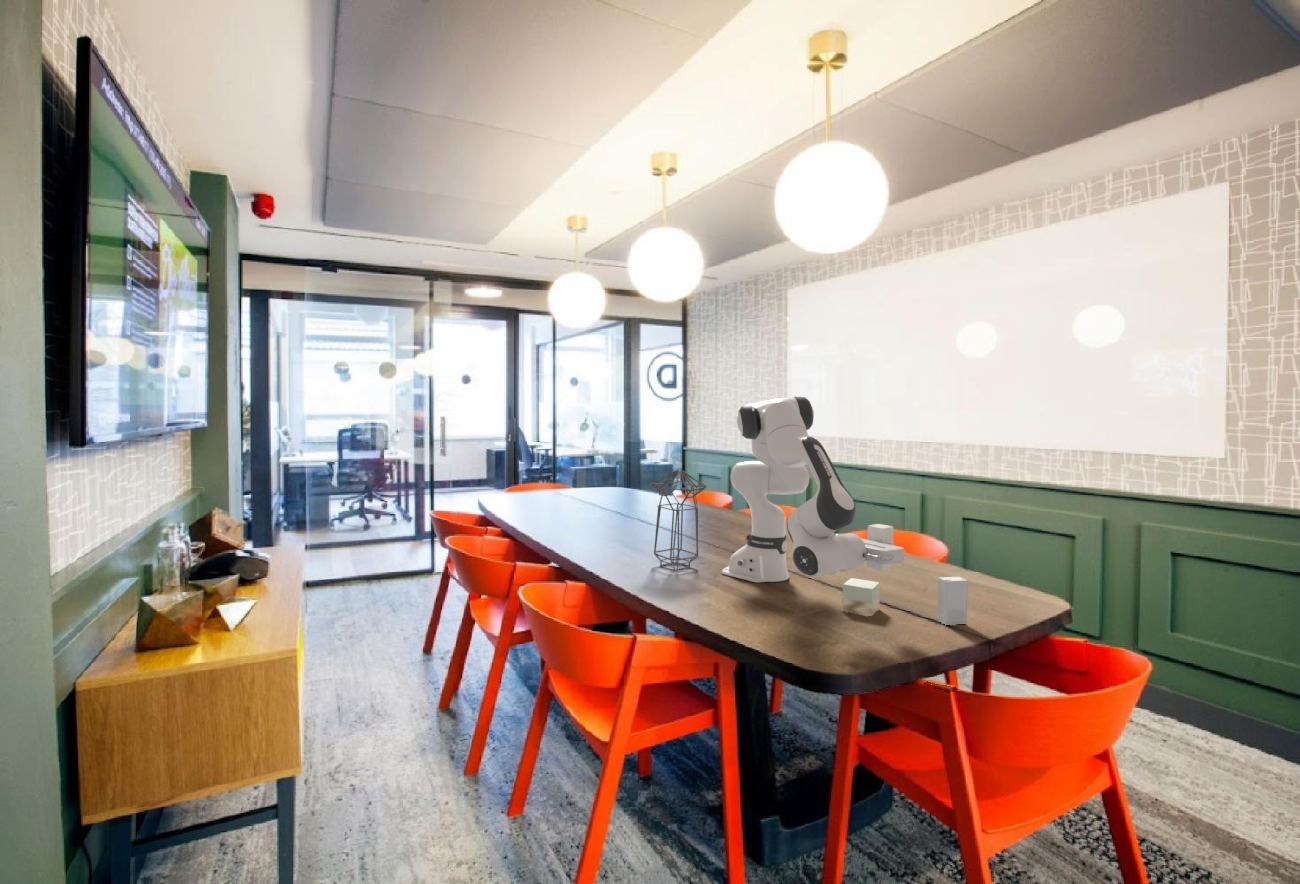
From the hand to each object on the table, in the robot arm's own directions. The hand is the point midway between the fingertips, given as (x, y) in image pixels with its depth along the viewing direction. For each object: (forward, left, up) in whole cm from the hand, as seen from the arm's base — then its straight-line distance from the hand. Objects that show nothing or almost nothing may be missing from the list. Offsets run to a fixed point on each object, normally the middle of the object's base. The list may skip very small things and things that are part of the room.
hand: (882, 544), depth 162 cm
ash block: (-8, +9, -22) cm, 25 cm away
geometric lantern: (-75, +18, -22) cm, 80 cm away
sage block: (-8, +10, -18) cm, 22 cm away
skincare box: (+15, +13, -22) cm, 29 cm away
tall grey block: (0, -1, -6) cm, 6 cm away
